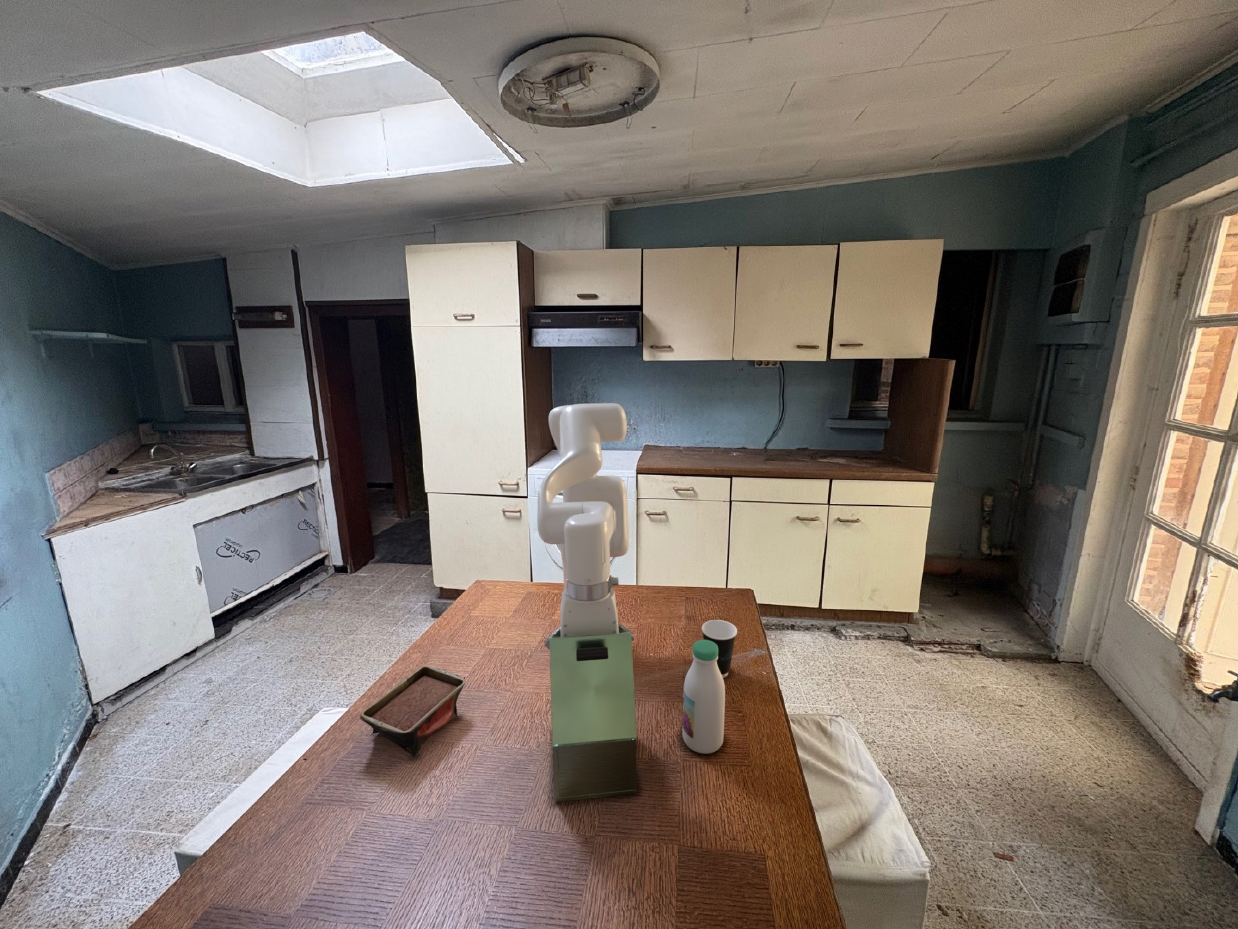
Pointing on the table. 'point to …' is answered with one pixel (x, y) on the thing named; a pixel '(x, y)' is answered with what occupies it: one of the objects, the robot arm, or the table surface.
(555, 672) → the bin lid
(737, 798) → the table surface
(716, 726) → the milk bottle
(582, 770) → the bin
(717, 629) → the dixie cup
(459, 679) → the rectangular footed planter
